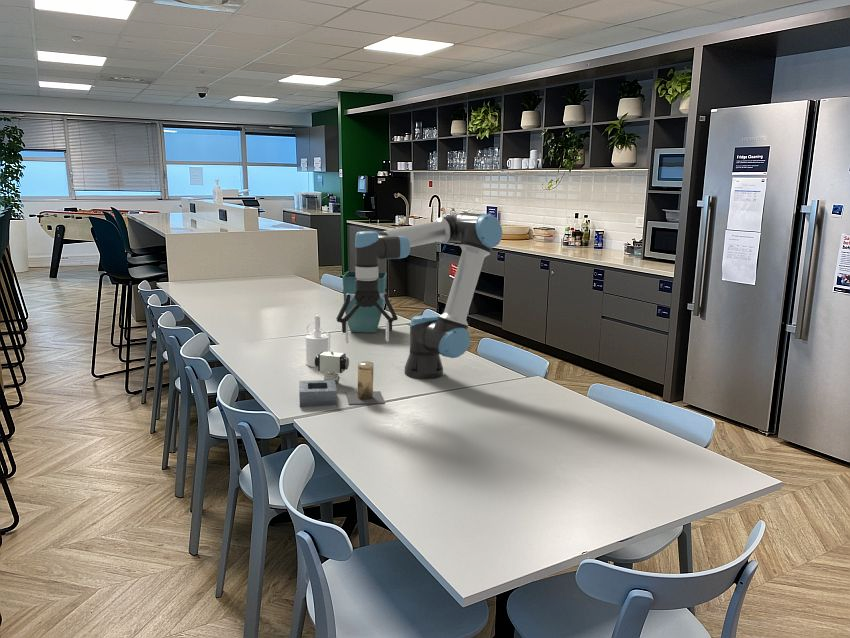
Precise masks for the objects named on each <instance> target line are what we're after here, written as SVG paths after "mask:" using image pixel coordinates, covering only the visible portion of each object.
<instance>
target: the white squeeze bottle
mask: <svg viewBox="0 0 850 638" xmlns="http://www.w3.org/2000/svg"><path fill="white" fill-rule="evenodd" d="M310 325H314V329H313V331H309V326H310ZM306 331H307V332H308V333H309V334H307V335H305V336H304V337H305V351H306V352H305V353H306V354H305V361H306V362H305V365H306V366H308V367H309V368H310V367H311V368H317V367H316V366H315V357H316V356H317V355H318V354H320V353H321V352H331V333H330V332H329V331H325V330H323V329H322V328H321V316H319V315H315V316H314V322H311V323H310V322H309V323H308V325H306ZM322 332H323V333H322ZM325 333H327V334H325Z"/></svg>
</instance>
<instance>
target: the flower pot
mask: <svg viewBox="0 0 850 638" xmlns="http://www.w3.org/2000/svg"><path fill="white" fill-rule="evenodd" d="M387 274H388V273H387V272H383V271H382V272H381V271H378V278H377V279H378V292H379V294H382V293H384V292H386V289H387V288H386V285H387V276H388V275H387ZM356 279H357V278H356V270H348V271H346V272H345V273H344V275H342V288H343V290H342V291H343V303H344V302H345V300H346V294H347V293H349V294H355V292H356ZM356 302H357V301H356V299H355V298H353V299H352V300H351V301H350V302H349V304H348V307H347V309H346V311H345V313H344V314H345V315H346V314H347V313H348V312H349V311H350V309H351V308H352V307H353V306H354V304H355V303H356ZM377 302H378V304H379V305H380V306H381V307H382V308H383V309H384V305H385V300H383V299H382V298H381V297H380V298H379V299H378V301H377ZM382 315H383V314H382V313H381V312H380V311H379V310H378V308H377V307H376V306H375V305H374V306H372V307H362V306H360V307H359V308H358V309H357V310H356V311H355V313H354V314H353V315H352V316H351V317H350V319H349V320H348V321H347V322H348V330H349V331H350V333H369V334H370V333H371V334H375V333H376V332H377V330H378V328H379V324H380V321H381V318H382Z"/></svg>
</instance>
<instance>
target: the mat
mask: <svg viewBox="0 0 850 638" xmlns="http://www.w3.org/2000/svg"><path fill="white" fill-rule="evenodd" d="M345 395H346V399H347V402H348V403H347V404H348V405H349V406H357V405H359V406H361V405H382V404H383V405H384V404H386V402H385V399H384V397H383V394H382V393H381V391H380V390H379V391H377V390H375V391H374V390H373V398H372V399H369V400H362V399H359V398H358V391H346V392H345Z"/></svg>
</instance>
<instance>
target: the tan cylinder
mask: <svg viewBox="0 0 850 638" xmlns="http://www.w3.org/2000/svg"><path fill="white" fill-rule="evenodd" d="M373 391H374V362H372V361H366V360H365V361H359V362H358V363H357V392H358V398H359V399H362V400H369V399H372V398H373Z"/></svg>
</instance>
